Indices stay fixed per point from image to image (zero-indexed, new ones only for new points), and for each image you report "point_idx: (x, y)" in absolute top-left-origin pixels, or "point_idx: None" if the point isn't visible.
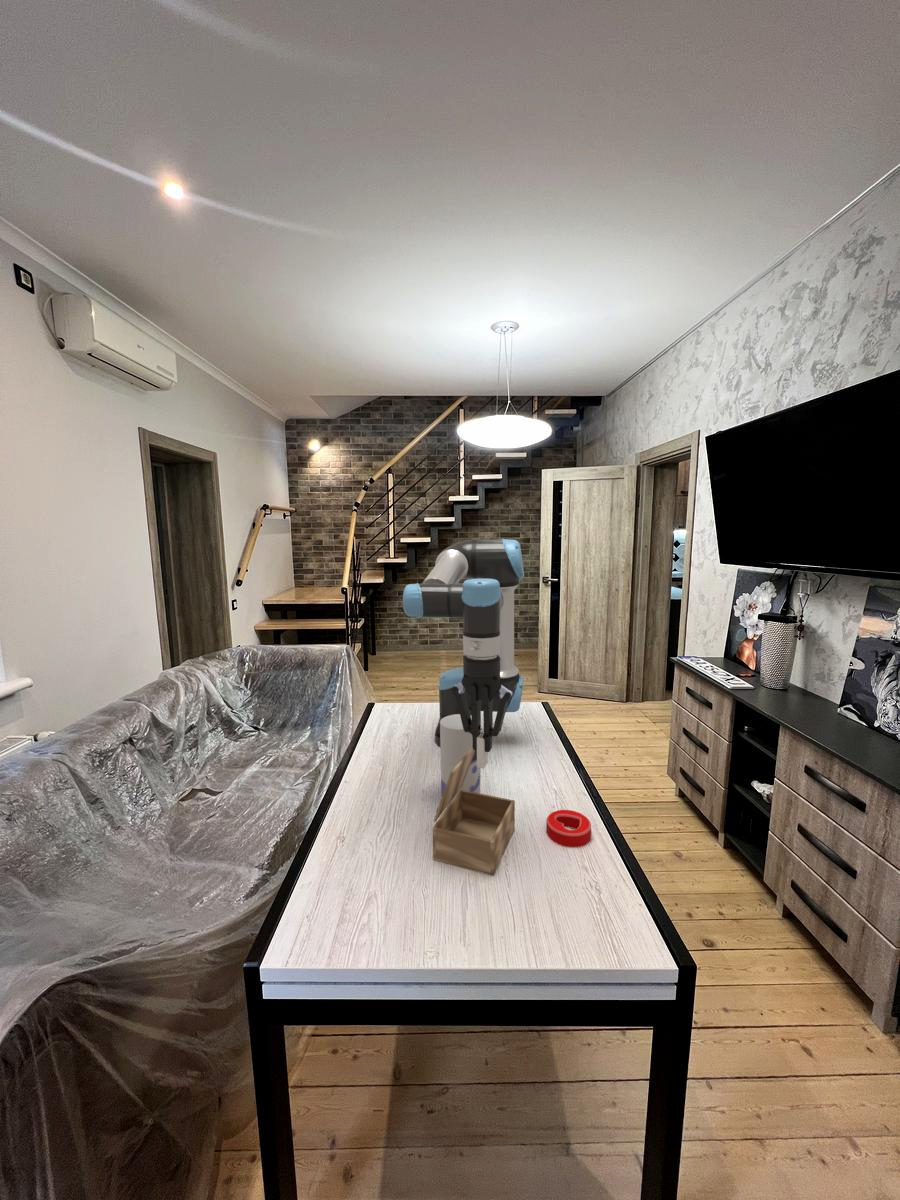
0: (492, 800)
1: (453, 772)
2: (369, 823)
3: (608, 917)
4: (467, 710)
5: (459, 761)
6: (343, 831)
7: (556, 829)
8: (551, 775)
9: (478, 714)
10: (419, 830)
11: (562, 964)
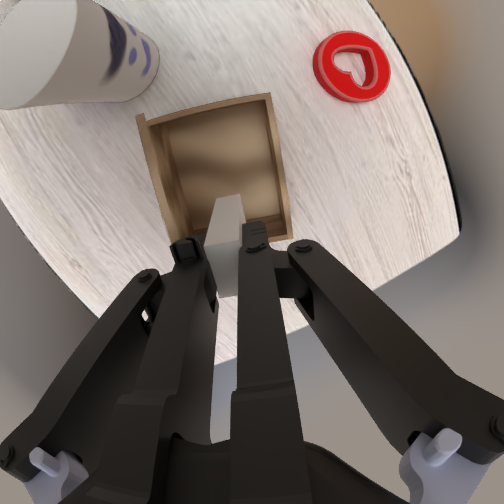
0: (220, 107)
1: None
2: (70, 222)
3: (419, 210)
4: (121, 359)
5: (97, 89)
6: (65, 252)
7: (347, 95)
8: None
9: (204, 360)
10: (129, 191)
11: (384, 282)
